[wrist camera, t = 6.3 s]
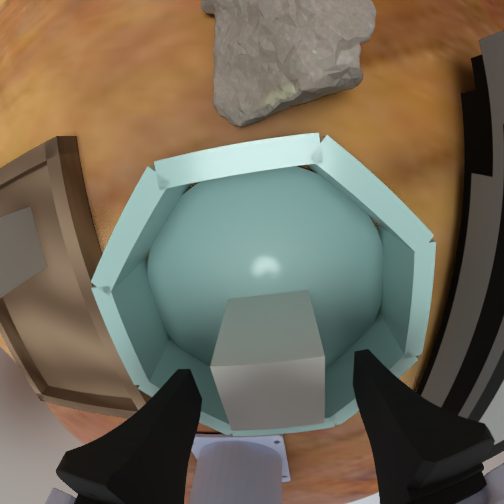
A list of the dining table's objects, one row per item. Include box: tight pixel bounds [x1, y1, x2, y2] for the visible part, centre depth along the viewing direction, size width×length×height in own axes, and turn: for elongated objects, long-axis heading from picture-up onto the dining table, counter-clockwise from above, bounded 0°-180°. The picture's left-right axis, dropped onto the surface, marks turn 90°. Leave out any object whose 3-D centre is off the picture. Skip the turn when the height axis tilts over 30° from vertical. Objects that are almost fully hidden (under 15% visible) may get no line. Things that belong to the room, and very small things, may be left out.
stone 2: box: [210, 289, 325, 431], centre depth 12 cm, size 4×4×5 cm
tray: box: [0, 136, 152, 418], centre depth 16 cm, size 19×13×2 cm
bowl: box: [91, 133, 436, 436], centre depth 13 cm, size 14×14×4 cm
